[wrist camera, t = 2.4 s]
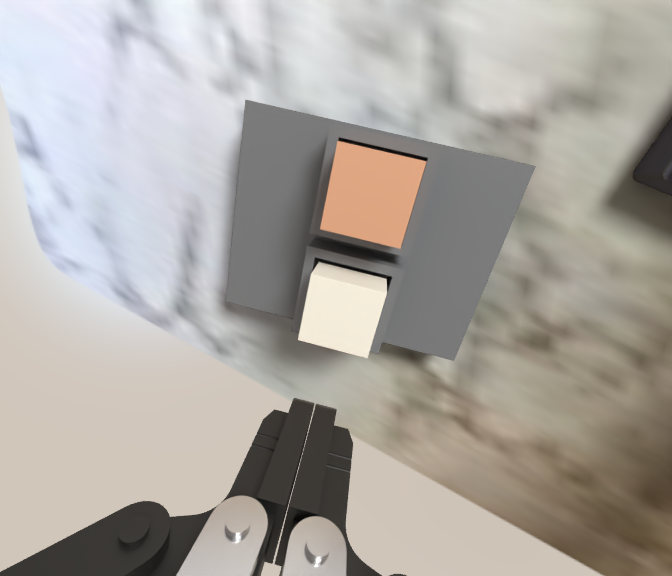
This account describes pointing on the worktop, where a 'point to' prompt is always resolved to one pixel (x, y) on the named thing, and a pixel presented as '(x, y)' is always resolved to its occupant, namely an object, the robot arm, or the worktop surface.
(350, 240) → the push button base
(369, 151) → the peach key
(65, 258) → the worktop surface
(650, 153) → the calculator
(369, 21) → the worktop surface
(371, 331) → the cream key
